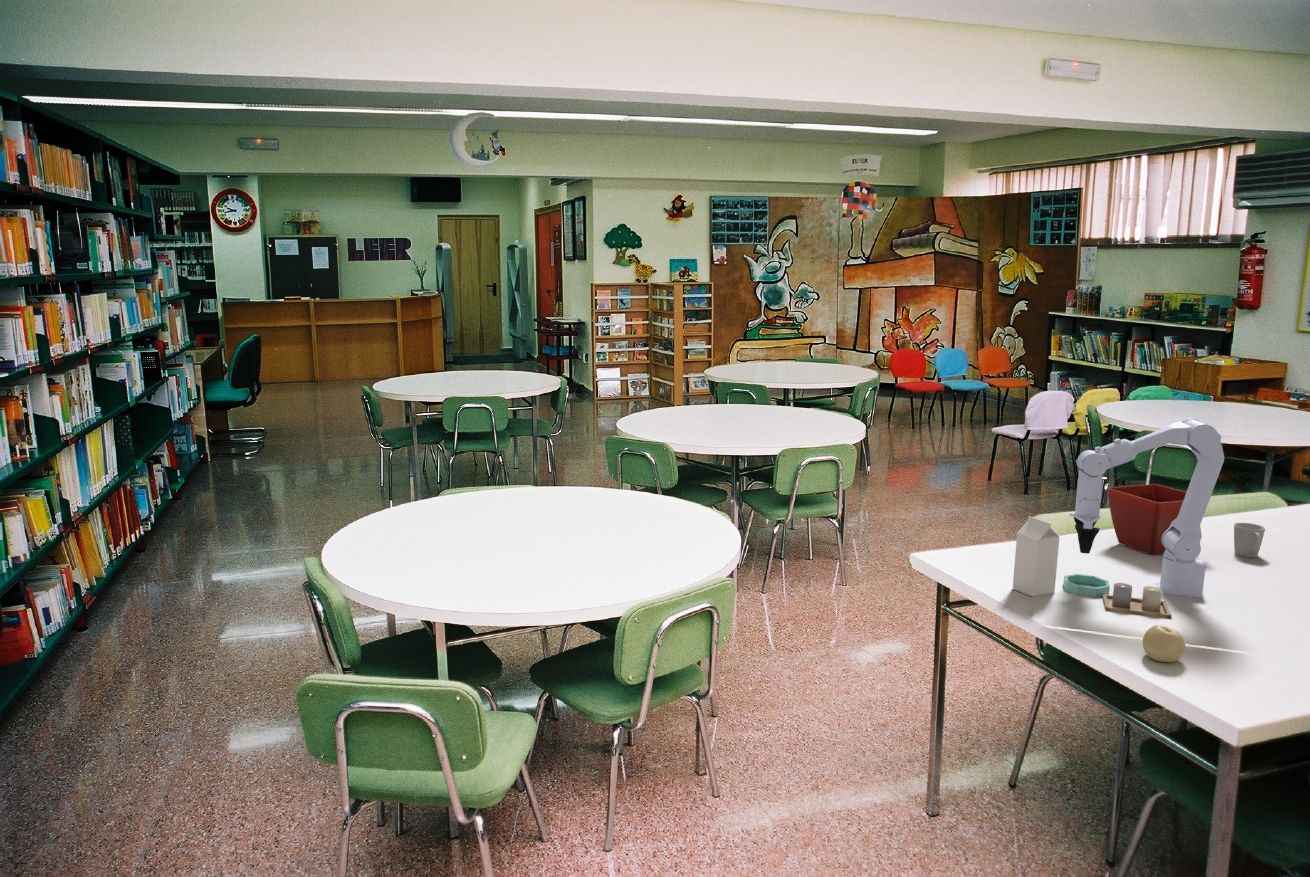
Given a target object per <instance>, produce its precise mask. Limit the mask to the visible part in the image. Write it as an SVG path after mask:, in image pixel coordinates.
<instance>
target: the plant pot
mask: <svg viewBox="0 0 1310 877" xmlns="http://www.w3.org/2000/svg"><path fill="white" fill-rule="evenodd" d="M1107 491H1108V492H1107V494H1108V495H1107V496H1108V503H1109V510H1110V515H1111V522H1112V525H1113V528H1114V532H1115V536H1116V538H1117V539H1116V540H1117V541H1118V544H1119V545H1122V546H1125V547H1128V548H1131V549H1133V550H1135V551H1139V552H1141V553H1144V554H1148V555H1151V556H1158V555H1163V553H1164V552H1165V549H1166V548H1165V547H1164V546H1163V544H1162V535H1163V533H1164V532H1165V531H1166V530H1167V529H1168V528H1169V527H1170V525H1171V522H1172V521H1173V520H1175V519H1176V518H1177V517H1178V514H1179V512H1180V509H1181V506H1182V503H1183V501H1184V498H1185V495H1186V492H1187V491H1183V490H1181V489H1177V488H1172V487H1168V486H1164V485H1161V484H1157V483H1155V484H1154V483H1153V484H1141V485H1140V484H1139V485H1126V486H1115V487H1114V486H1112V487H1108V488H1107Z"/></svg>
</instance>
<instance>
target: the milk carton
mask: <svg viewBox="0 0 1310 877" xmlns="http://www.w3.org/2000/svg"><path fill="white" fill-rule="evenodd" d="M1051 525H1052V524H1051V522H1048V521H1045V520H1043V519H1040V518H1036V517H1032V516H1030V515H1028V517H1027V521H1026V522H1025V523H1024V524H1023V525H1022V527H1020V529H1019V530H1018V531H1017V532H1016V543H1015V553H1014V555H1015V556H1014V565H1013V566H1014V567H1013V577H1012V578H1013V580H1012V589H1014V590H1016V591H1018V592H1020V593H1023V594H1024V595H1027V596H1030V597H1031V598H1032V597H1037V596H1042V595H1048V594H1052V593H1053V594H1054V593H1055V590H1056V589H1055V588H1056V581H1057V580H1056V579H1057V569H1058V557H1059V548H1060V547H1059V546H1060V544H1059V543H1060V536H1059V534H1057V533H1056V532H1055V531H1054V529H1052V528H1051Z"/></svg>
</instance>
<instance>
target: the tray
mask: <svg viewBox="0 0 1310 877" xmlns="http://www.w3.org/2000/svg"><path fill="white" fill-rule="evenodd" d="M1101 598H1102V600H1103V601H1102V602H1103V605H1104V610H1105V611H1109V612H1116V613H1125V614H1133V615H1141V616H1147V617H1154V618H1155V617H1156V618H1164V619H1172V613H1171V610H1170V609H1169V605H1168V603H1167V602H1166V601H1165V600H1161V606H1160V611H1159V612H1150V611H1146V610H1143V609H1142V608H1141V605H1142V597H1140V598H1139V597H1132V596H1131V605H1130V608H1119V607H1115V606H1113V605H1112V599H1113V594H1109V595H1108V594H1102V596H1101Z"/></svg>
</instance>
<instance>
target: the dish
mask: <svg viewBox="0 0 1310 877" xmlns="http://www.w3.org/2000/svg"><path fill="white" fill-rule="evenodd" d="M1063 590H1065V591H1067V592H1070V593H1073V594H1075V595H1078V596H1086V597H1094V598H1097V597H1098V598H1099V597H1102V594H1108V595H1110V590H1111V589H1110V583H1109V580H1107V579H1103V578H1101V577H1099V576H1095V575H1090V574H1081V573H1072V574H1068V575H1064V576H1063Z"/></svg>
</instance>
